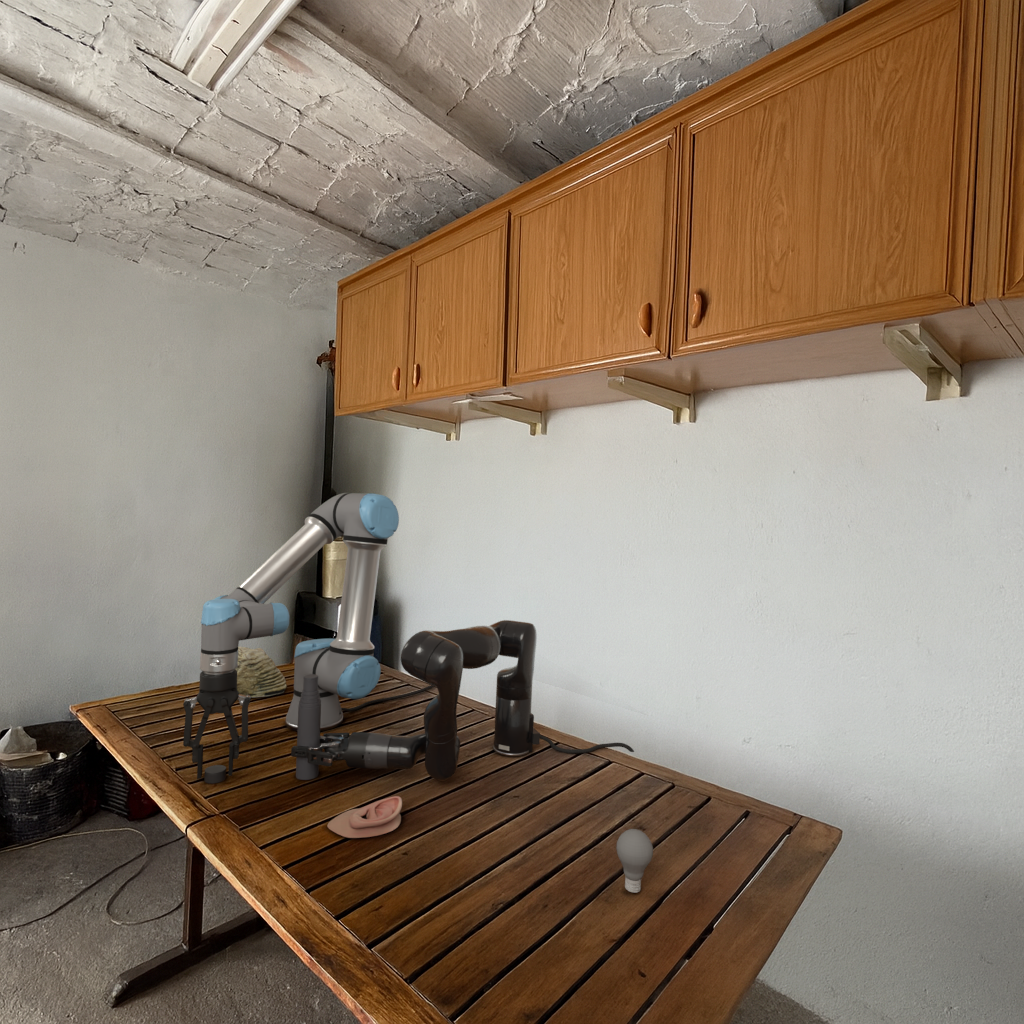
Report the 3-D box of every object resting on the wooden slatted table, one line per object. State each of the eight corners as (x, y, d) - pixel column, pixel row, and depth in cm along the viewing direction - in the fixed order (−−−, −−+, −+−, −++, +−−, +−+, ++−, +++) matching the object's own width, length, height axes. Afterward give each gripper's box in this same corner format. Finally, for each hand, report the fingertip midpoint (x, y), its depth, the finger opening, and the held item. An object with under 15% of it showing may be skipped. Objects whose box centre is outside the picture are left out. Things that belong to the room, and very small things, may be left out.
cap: (230, 776, 141) (230, 766, 141) (215, 784, 137) (216, 774, 137) (214, 773, 142) (214, 763, 142) (199, 781, 138) (200, 771, 138)
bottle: (302, 782, 140) (306, 680, 140) (291, 774, 144) (295, 675, 143) (322, 775, 144) (326, 676, 143) (311, 768, 147) (315, 671, 147)
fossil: (218, 695, 195) (220, 647, 195) (278, 685, 208) (279, 640, 207) (228, 703, 189) (230, 653, 188) (289, 692, 201) (290, 645, 201)
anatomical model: (320, 812, 119) (347, 786, 130) (319, 833, 119) (347, 805, 130) (386, 822, 116) (408, 795, 127) (385, 844, 116) (408, 814, 128)
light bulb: (610, 879, 108) (613, 822, 108) (644, 879, 109) (647, 822, 109) (619, 902, 102) (622, 840, 102) (655, 901, 103) (658, 840, 103)
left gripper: (168, 677, 133) (165, 786, 133) (263, 672, 139) (259, 777, 139) (174, 667, 140) (170, 772, 140) (264, 663, 146) (260, 763, 147)
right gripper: (379, 723, 150) (308, 719, 151) (362, 746, 136) (284, 741, 136) (377, 754, 150) (307, 750, 151) (361, 781, 136) (283, 776, 136)
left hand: (215, 774), depth 140 cm, fingers open, 5 cm apart
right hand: (296, 746), depth 144 cm, fingers closed on bottle, 5 cm apart
